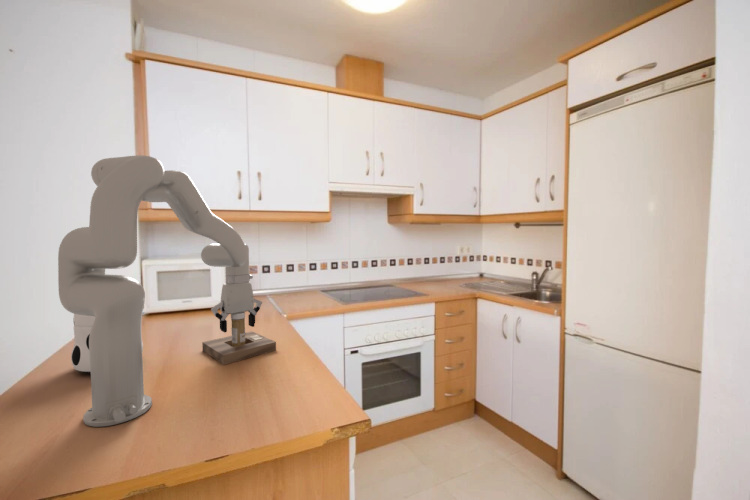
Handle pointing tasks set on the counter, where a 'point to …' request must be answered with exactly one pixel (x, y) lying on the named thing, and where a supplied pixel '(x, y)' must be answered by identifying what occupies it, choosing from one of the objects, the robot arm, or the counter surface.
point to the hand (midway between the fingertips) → (238, 328)
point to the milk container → (82, 343)
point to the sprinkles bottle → (238, 329)
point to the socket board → (238, 348)
